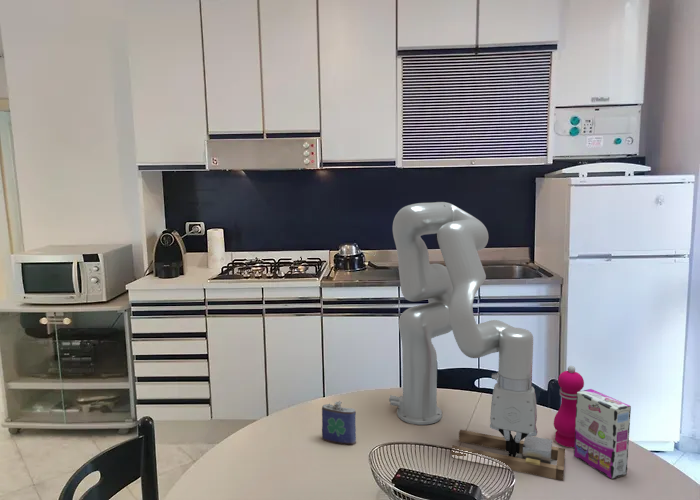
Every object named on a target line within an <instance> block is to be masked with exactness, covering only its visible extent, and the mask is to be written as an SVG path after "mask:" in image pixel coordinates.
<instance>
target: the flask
mask: <svg viewBox="0 0 700 500" xmlns="http://www.w3.org/2000/svg"><path fill="white" fill-rule="evenodd" d="M341 404H342V401H341V400H338V401H335V402H334V405H333V404H331V403H327V404H323V405H322V407H321V437H322V441H324V442H328V443H332V444H338V445H345V446H355V445H356V444H357V443H356V442H357V434H356V433H357V430H356V429H357V428H356V410H355V408H351V407H343V406H342V405H341Z"/></svg>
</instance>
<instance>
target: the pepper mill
mask: <svg viewBox="0 0 700 500" xmlns="http://www.w3.org/2000/svg"><path fill="white" fill-rule="evenodd" d="M557 383H558V386H559V387H560V388H559V396H560V397H561V402H560V403H561V404H560V407H559V408H558V410H557V412H556V414H555V416H554V418H553V426H554V427H553V428H554V429H555V430H556V431H555V432H554V435H555V436H554V441H555V442H556V443H557V444H559V445H561V446H562V447H565V448H566V447H567V448H574V444H575V425H576V403H577V392H579V391H582V390H583V388H584V386H585V381H584V378H583V376H582V375H581V374H580V373H579V372H576V367H575V366H573V365H568V366H567V370H564V371H563V372H561V373H560V374H559V375H558V378H557Z"/></svg>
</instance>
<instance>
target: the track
mask: <svg viewBox="0 0 700 500" xmlns="http://www.w3.org/2000/svg"><path fill="white" fill-rule="evenodd" d="M458 442H461V443H466V444H471V445H477V446H482V447H485V448H486V447H487V448H492V449H498V450H502V451H506V440H505V438H504V436H503V437H502V436H498V435H492V434H486V433H480V432H476V431H470V430H465V429H459V431H458ZM523 445H524V440H521V441H520V450H519V454H522V455H523ZM451 448H455V449H459V450H463V451H468V452H472V453H478V454H482V455H485V456H488V457H491V458H494V459H497V460H499V461H501V462H503V463H505V464H506V465H508V466H509V467H510V468H511V469H512V470H511V471H513V472H518V473H524V474H528V475H533V476H539V477H544V478H549V479H553V480H556V481H557V480H558V481H564V477H565V476H564V473H565V461H566V460H565V459H566V448H563V447H558V446H553V445H552V457H551V460H554V461H556V464H553V463H551V464H547V463H542V462H540V460H536V459H531V458H526V459H523V457H522V458H521V457H511V456H508V455H506V454H500V453H495V452H491V451H486V450H480V449H475V448H469V447H464V446H459V445H452V446H451ZM451 448H450V449H451ZM450 451H451V450H450ZM451 454H452V455H457V456H463V455H464V456H466V454H461V453H455V452H453V451H451V452H450V455H451Z"/></svg>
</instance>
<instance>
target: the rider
mask: <svg viewBox="0 0 700 500" xmlns="http://www.w3.org/2000/svg"><path fill="white" fill-rule="evenodd" d="M523 441H524V445H523V454H522V459H526V458H531V459H536V460H540V462H542V463H547V464H552V459H551V457H552V446H553V439H549V438H543V437H539V436H538V437H537V436H527V437H525V438H524V440H523Z"/></svg>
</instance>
